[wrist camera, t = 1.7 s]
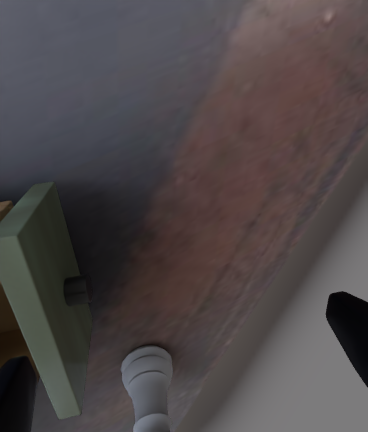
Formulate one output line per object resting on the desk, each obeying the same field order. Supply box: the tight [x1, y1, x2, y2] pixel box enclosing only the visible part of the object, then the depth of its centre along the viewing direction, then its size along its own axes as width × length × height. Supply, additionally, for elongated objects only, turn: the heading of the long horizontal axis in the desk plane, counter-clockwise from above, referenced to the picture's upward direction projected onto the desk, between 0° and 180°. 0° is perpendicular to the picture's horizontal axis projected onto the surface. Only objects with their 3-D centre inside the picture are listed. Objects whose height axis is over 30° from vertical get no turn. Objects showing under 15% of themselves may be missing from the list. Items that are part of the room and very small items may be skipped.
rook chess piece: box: [121, 345, 173, 432], centre depth 22 cm, size 4×4×8 cm
